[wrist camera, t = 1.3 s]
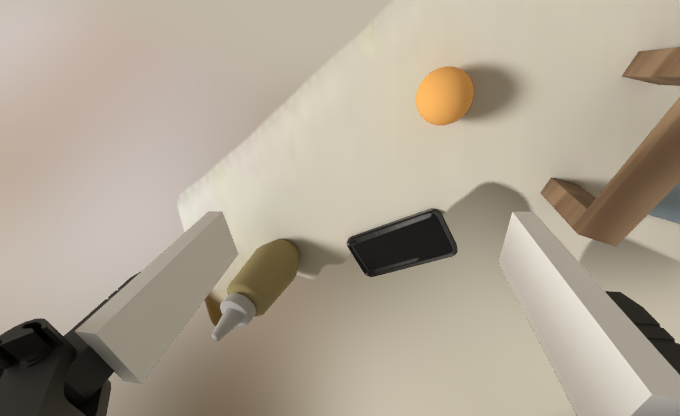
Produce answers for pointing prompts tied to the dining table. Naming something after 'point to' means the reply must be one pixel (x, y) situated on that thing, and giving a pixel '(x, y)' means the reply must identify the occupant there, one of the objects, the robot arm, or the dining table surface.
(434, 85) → the ball
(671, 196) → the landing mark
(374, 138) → the dining table surface
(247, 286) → the squeeze bottle
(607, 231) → the bridge
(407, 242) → the phone
